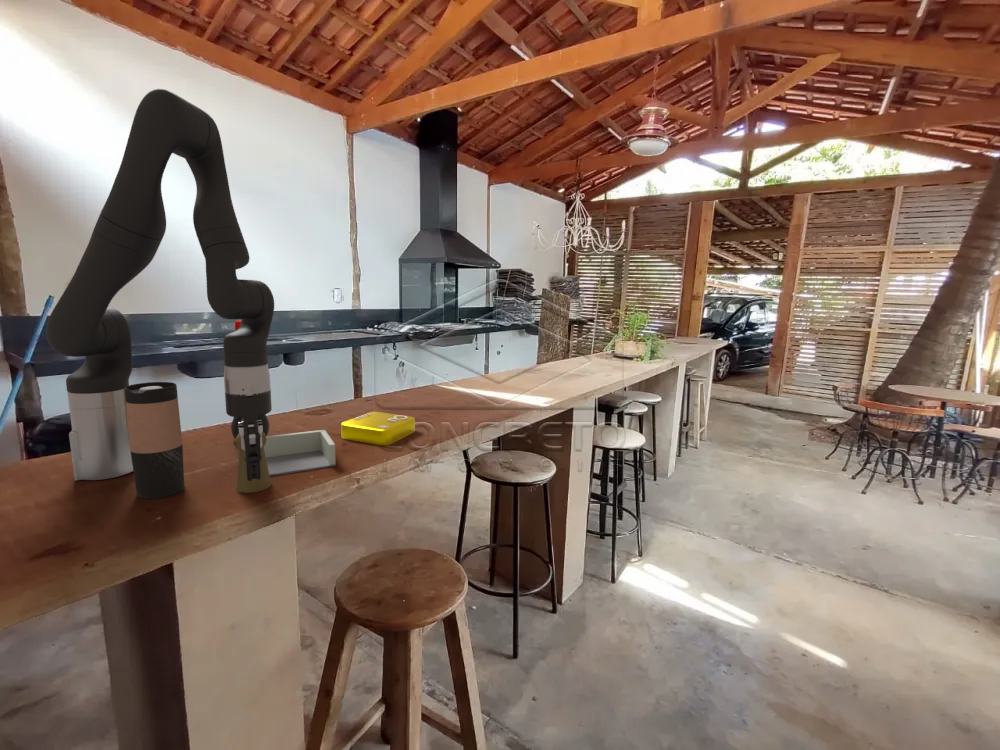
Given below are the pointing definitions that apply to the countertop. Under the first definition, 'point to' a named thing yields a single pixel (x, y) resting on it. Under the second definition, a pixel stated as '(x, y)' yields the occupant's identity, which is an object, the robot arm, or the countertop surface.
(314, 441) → the corner arena
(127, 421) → the robot arm
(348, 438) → the element tile
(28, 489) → the countertop surface
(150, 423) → the travel mug
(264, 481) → the cork
